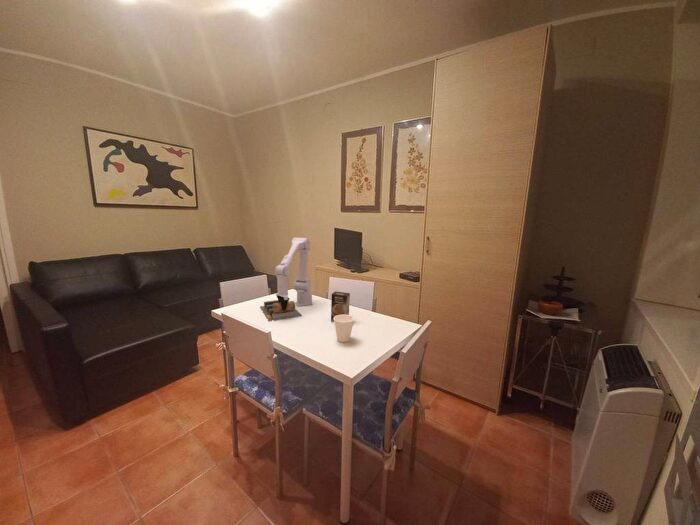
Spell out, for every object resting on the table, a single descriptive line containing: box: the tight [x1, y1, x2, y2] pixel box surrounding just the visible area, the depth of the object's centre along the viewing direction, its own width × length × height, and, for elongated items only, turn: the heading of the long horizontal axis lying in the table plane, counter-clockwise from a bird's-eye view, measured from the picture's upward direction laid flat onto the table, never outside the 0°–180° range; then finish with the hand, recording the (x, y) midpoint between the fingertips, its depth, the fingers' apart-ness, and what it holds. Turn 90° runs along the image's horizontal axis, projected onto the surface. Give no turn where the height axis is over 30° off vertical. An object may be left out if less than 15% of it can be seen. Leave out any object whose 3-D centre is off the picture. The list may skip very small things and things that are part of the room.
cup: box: [333, 314, 355, 343], centre depth 133 cm, size 10×10×11 cm
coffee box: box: [330, 291, 351, 322], centre depth 156 cm, size 9×6×16 cm
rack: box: [259, 299, 302, 322], centre depth 168 cm, size 19×25×3 cm
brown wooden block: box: [273, 300, 296, 313], centre depth 162 cm, size 12×4×7 cm, turn 118°
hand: (283, 308), depth 161 cm, fingers closed on brown wooden block, 4 cm apart
